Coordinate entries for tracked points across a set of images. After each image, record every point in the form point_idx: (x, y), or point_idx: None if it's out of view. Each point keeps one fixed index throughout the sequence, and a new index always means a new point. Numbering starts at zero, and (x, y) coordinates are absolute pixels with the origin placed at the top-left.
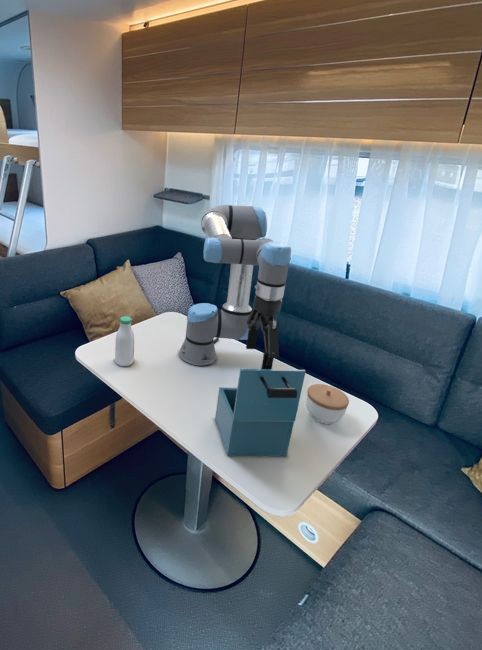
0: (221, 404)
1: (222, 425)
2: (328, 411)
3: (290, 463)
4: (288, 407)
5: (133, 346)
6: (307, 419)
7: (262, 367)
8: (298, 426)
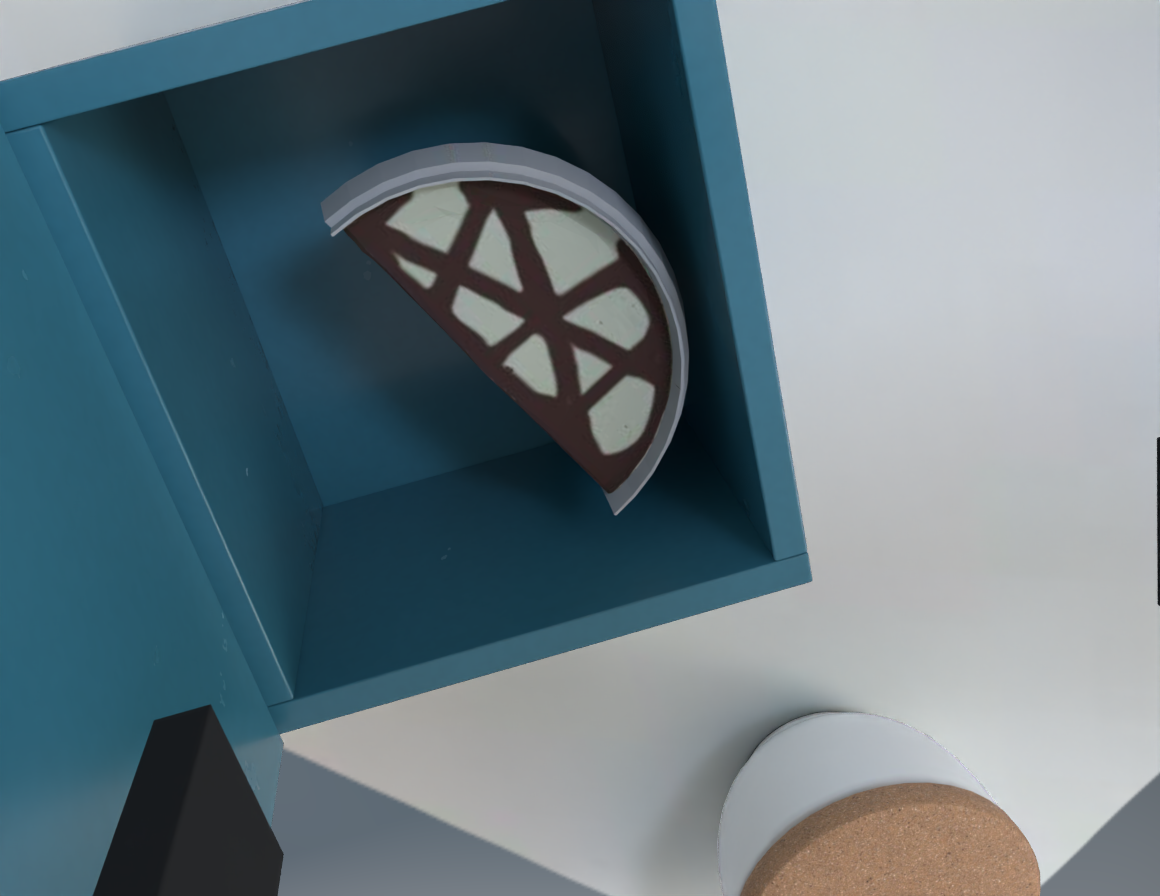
0: None
1: None
2: (732, 885)
3: None
4: None
5: None
6: (770, 683)
7: (115, 843)
8: (677, 622)
